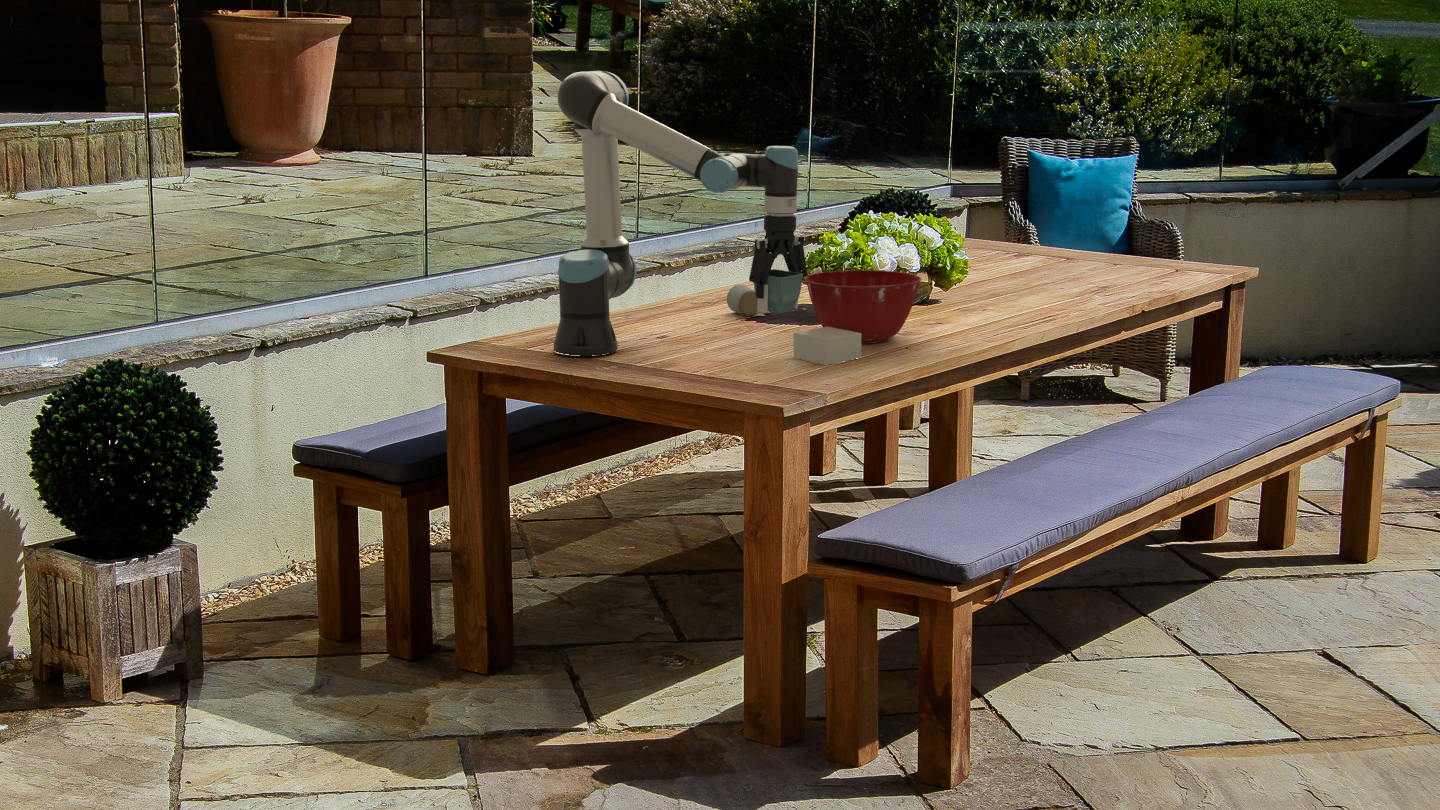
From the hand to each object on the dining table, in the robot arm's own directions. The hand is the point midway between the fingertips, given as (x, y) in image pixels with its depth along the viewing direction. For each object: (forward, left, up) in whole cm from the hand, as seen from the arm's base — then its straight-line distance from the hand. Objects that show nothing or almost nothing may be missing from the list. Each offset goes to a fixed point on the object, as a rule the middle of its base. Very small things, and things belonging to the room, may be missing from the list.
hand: (777, 309), depth 340 cm
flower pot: (0, 0, 0) cm, 1 cm away
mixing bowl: (+26, -2, -10) cm, 28 cm away
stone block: (+3, -13, -10) cm, 17 cm away
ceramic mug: (+29, +42, -10) cm, 52 cm away
